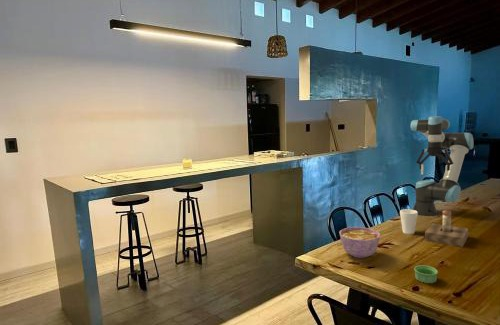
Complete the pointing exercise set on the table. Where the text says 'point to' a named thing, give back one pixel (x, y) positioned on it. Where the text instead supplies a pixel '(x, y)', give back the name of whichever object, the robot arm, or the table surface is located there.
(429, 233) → the square peg hole block
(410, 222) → the foam cup
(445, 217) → the dowel
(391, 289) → the table surface
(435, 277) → the ramekin
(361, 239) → the bowl of food
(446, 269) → the table surface
